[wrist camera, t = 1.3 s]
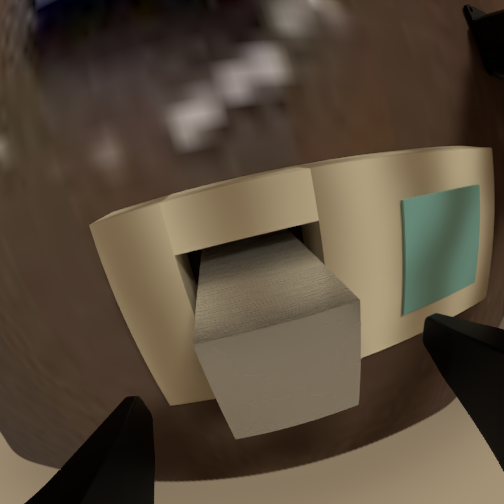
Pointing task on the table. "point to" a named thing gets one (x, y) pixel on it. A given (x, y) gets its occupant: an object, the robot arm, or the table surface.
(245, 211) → the beige slotted block
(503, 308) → the table surface
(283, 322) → the steel block
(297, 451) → the table surface
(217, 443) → the table surface
